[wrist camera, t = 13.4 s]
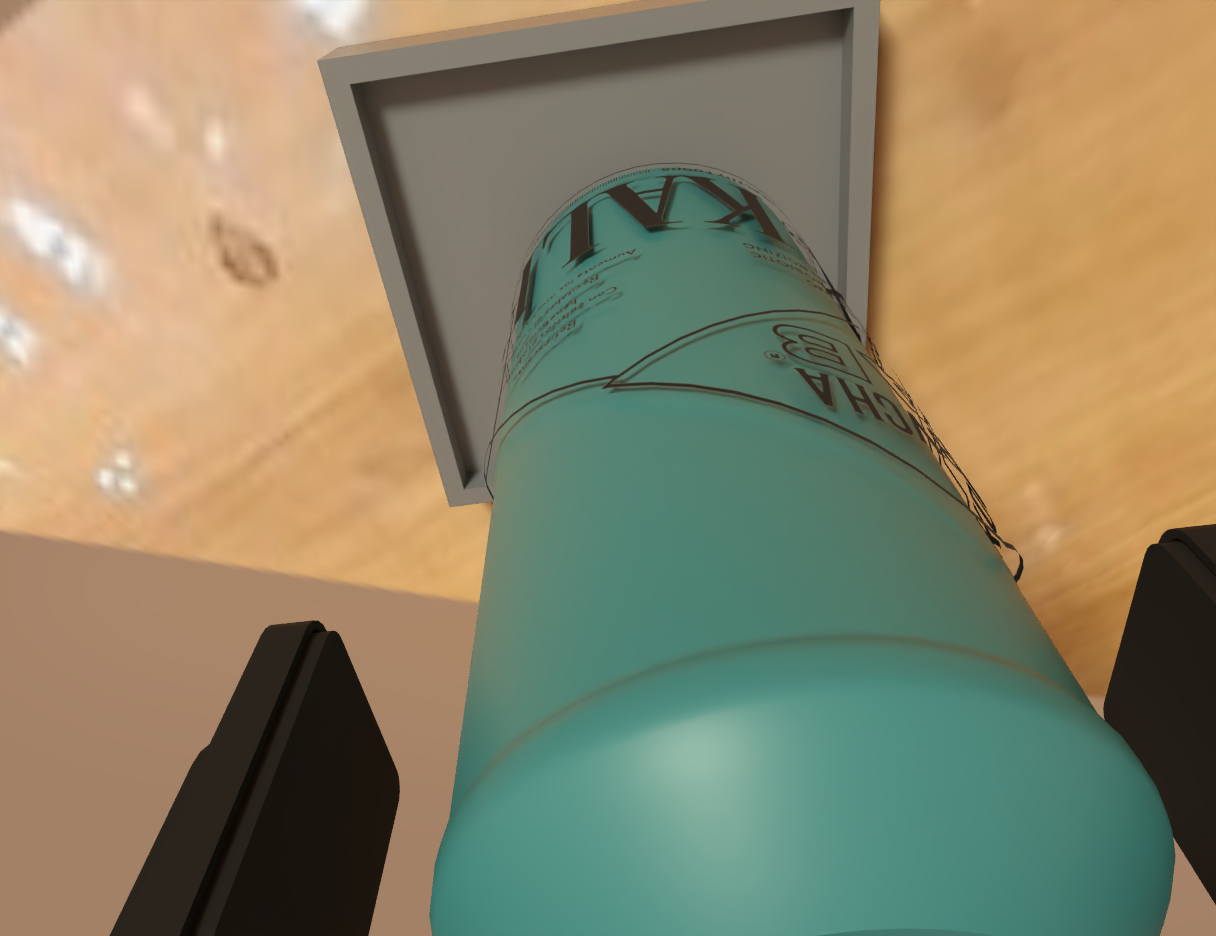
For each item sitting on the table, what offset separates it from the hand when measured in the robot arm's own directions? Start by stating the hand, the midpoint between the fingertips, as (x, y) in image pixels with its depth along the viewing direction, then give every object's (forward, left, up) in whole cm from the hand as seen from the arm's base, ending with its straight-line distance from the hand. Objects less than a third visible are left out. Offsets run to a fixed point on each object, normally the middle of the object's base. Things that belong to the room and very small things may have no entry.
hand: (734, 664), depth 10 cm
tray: (+1, 0, -13) cm, 13 cm away
